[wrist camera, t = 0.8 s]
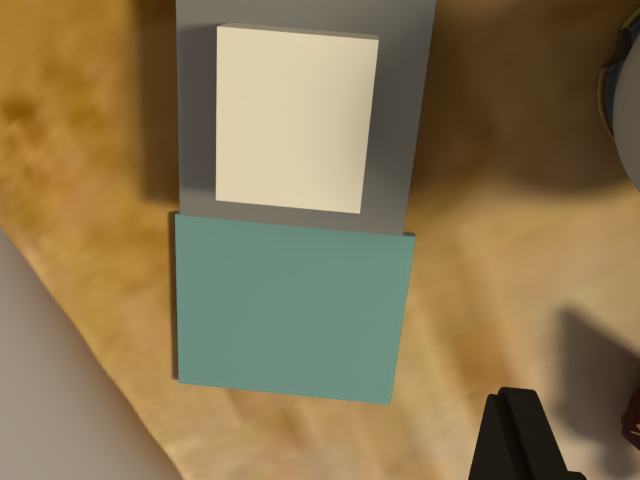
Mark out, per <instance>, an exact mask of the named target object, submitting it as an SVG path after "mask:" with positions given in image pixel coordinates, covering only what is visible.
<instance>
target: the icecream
mask: <svg viewBox="0 0 640 480" xmlns="http://www.w3.org/2000/svg"><path fill="white" fill-rule="evenodd" d="M621 424H622V426H623V429H622V431H621V433H622V435H623V436H624V437H625V438H626V439H627V440H628V441H629V442H630V443H632V444H633V445H634V446H635V447H636V448H637V449H638V450H639V451H640V389H638V390H637V391H636V392H635V393H634V394H633V396H632V398H631V401H630V403H629V406H628V408H627V410H626V412H625V413H624V414H623V415H622V417H621Z"/></svg>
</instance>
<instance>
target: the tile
mask: <svg viewBox="0 0 640 480" xmlns="http://www.w3.org/2000/svg"><path fill="white" fill-rule="evenodd" d="M378 42H379V39H378V35H371V34H359V33H347V32H336V31H324V30H312V29H300V28H289V27H277V26H265V25H253V24H242V23H230V22H228V23H226V24H223V25H220V26H217V111H216V200H218V201H229V202H240V203H250V204H261V205H272V206H282V207H293V208H304V209H315V210H325V211H336V212H347V213H357V214H360V207H361V198H362V189H363V180H364V171H365V162H366V152H367V143H368V134H369V125H370V116H371V107H372V97H373V88H374V79H375V70H376V61H377V52H378Z"/></svg>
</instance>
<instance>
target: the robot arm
mask: <svg viewBox="0 0 640 480" xmlns="http://www.w3.org/2000/svg"><path fill="white" fill-rule="evenodd" d="M468 480H587V479H586V477H585V476H584V475H583V474H582V473H580V472H573V471H568V470H567V468H566V465H565V463H564V460H563V458H562V455H561V453H560V450H559V447H558V445H557V442H556V440H555V437H554V435H553V432H552V430H551V427H550V425H549V422H548V420H547V417H546V415H545V412H544V410H543V407H542V405H541V402H540V400H539V397H538V395H537V393H536V391H534V390H530V389H520V388H509V387H501V388H500V390H499V392H498V395H495V394H489V395H488V397H487V400H486V405H485V409H484V413H483V418H482V422H481V426H480V431H479V435H478V439H477V444H476V448H475V452H474V456H473V461H472V465H471V469H470V474H469V478H468Z"/></svg>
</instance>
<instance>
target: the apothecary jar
mask: <svg viewBox="0 0 640 480" xmlns="http://www.w3.org/2000/svg"><path fill="white" fill-rule="evenodd" d="M597 99H598V111H599V114H600V117H601V119H602V122H603V124H604V127H605V129H606V131H607V133H608V134H609V136H610V137H611V139H612V140H613V141H614V143H615V144H616V147H617V151H618V154H619V157H620V160H621V163H622V165H623V167H624V169H625V171H626V173H627V175H628V177H629V178H630V180H631V181H632V183H633V184H634V186H635V187H636V188H637V189H638V191H639V192H640V7H638V8H637V9H636V10H635V11H634V12H633V13H632V14H631V15H630V17H629V18H628V19H627V20H626V21H625V22H624V24H623V25H622V26H621V28H620V29H619V39H618V42H617V48H616V53H615V55H614V57H613V58H612V59H611V60H610V61H609V62H608V63H607V64H605V65H604V66H602V68H601V70H600V74H599V79H598V88H597Z"/></svg>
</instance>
